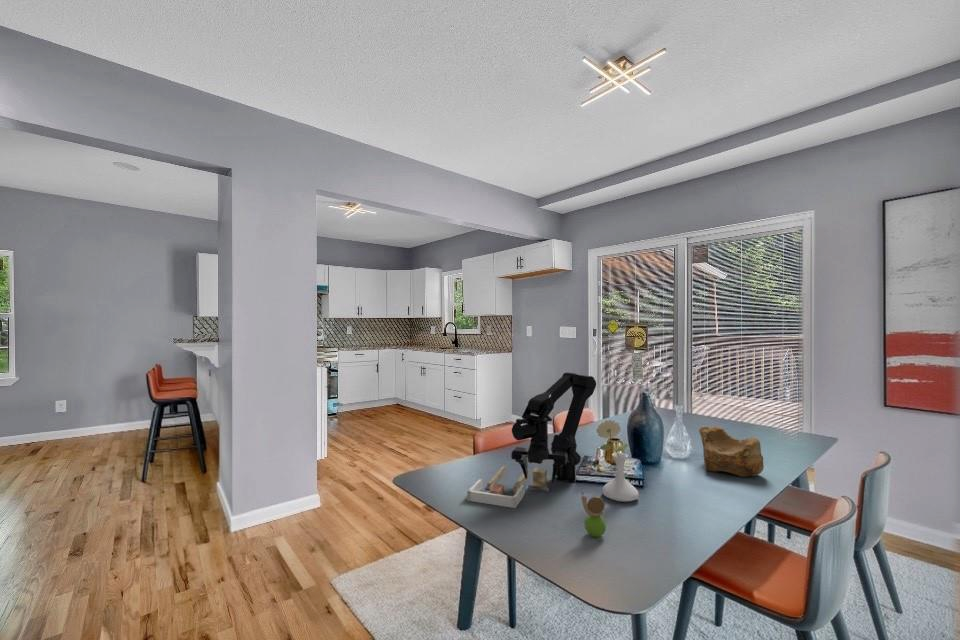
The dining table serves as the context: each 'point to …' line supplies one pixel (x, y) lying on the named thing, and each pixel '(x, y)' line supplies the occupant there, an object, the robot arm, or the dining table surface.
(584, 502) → the snail figurine
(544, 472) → the scraper
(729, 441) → the rough brown rock
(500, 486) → the brown cube
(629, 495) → the flower in vase
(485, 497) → the tray
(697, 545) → the dining table surface
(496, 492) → the chip
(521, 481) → the channel
